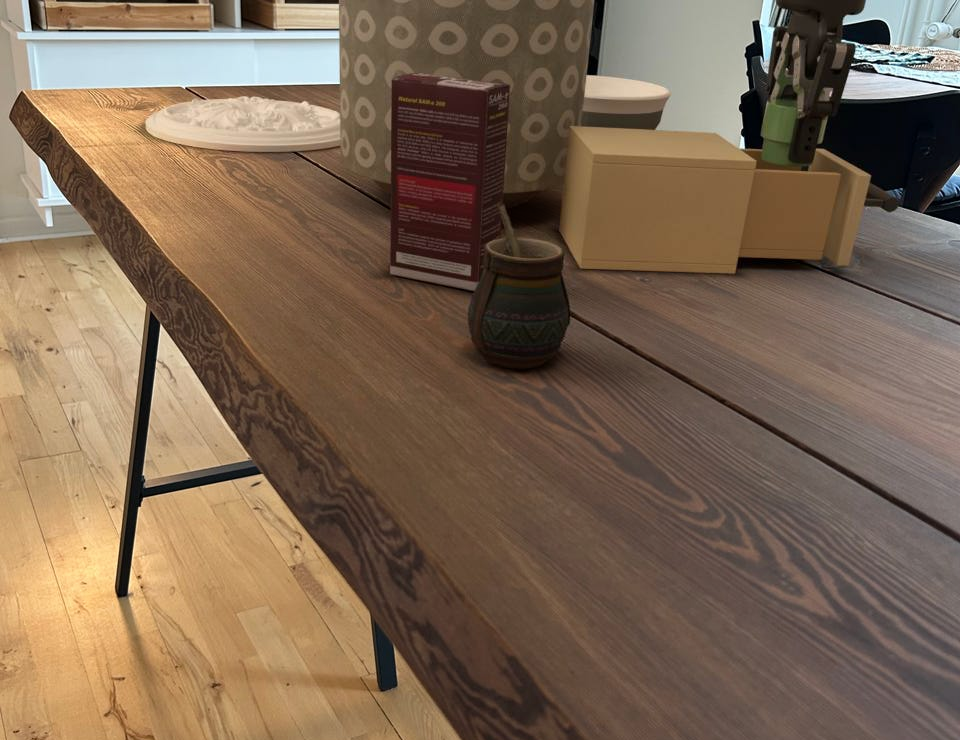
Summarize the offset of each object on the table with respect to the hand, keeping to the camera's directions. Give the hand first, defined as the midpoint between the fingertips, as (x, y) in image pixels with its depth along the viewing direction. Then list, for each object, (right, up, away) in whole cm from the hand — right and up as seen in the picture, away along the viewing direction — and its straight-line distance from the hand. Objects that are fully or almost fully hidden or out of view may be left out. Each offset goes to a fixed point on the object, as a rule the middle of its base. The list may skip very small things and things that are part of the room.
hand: (788, 154), depth 96 cm
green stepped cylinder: (0, 0, 0) cm, 1 cm away
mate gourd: (-26, -23, -22) cm, 41 cm away
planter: (-31, 0, +16) cm, 35 cm away
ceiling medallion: (-59, +19, +43) cm, 75 cm away
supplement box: (-32, -13, -7) cm, 35 cm away
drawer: (+1, -7, +5) cm, 9 cm away
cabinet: (-13, -8, +4) cm, 16 cm away
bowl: (-13, +17, +45) cm, 50 cm away
